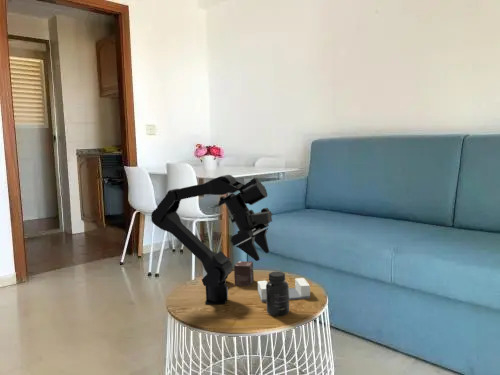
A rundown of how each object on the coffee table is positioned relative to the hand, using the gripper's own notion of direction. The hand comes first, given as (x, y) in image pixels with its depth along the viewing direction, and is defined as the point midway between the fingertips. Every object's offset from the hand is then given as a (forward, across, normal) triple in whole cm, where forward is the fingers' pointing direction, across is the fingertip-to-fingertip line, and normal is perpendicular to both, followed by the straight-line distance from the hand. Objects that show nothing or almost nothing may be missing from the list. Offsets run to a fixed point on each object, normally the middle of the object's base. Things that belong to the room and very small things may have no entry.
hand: (263, 256), depth 130 cm
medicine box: (+2, +16, +30) cm, 34 cm away
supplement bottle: (+17, -4, +3) cm, 17 cm away
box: (+8, +19, +20) cm, 28 cm away
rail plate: (+16, +10, +5) cm, 19 cm away
